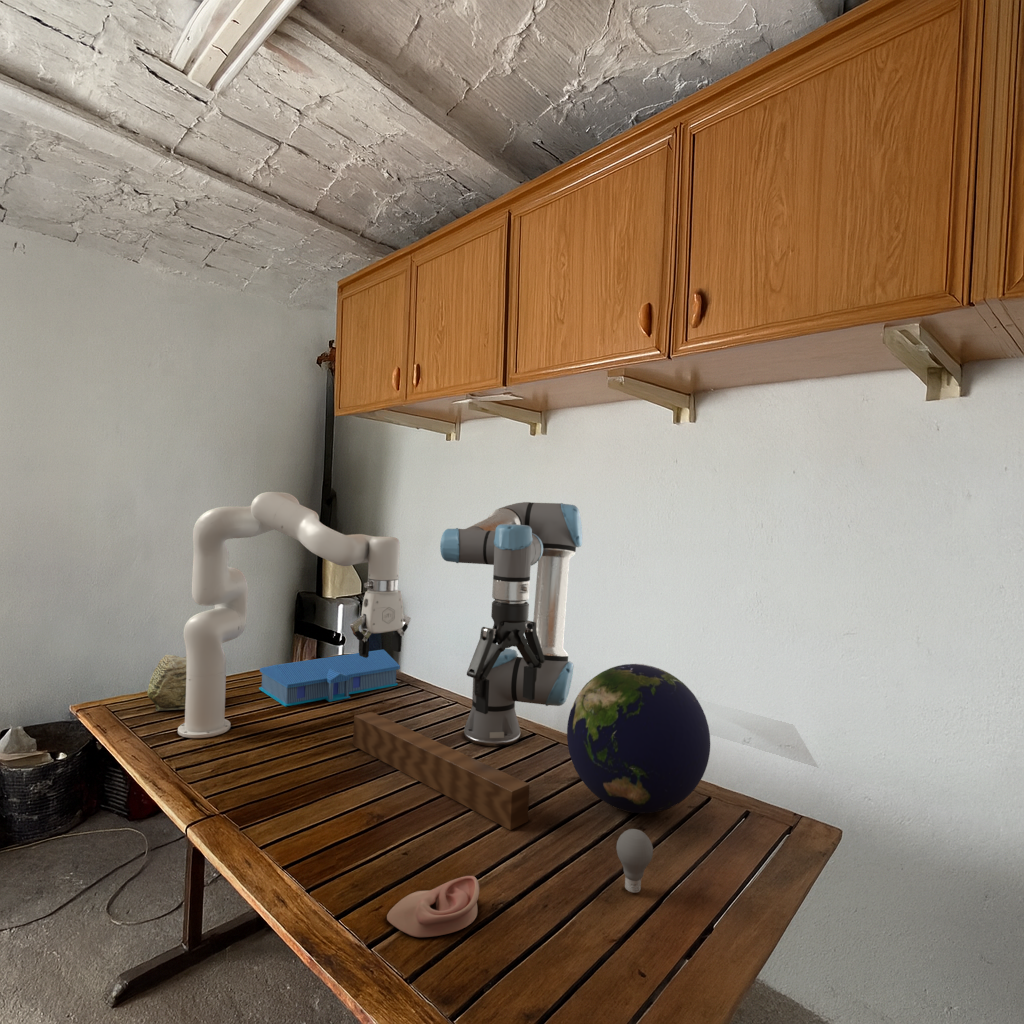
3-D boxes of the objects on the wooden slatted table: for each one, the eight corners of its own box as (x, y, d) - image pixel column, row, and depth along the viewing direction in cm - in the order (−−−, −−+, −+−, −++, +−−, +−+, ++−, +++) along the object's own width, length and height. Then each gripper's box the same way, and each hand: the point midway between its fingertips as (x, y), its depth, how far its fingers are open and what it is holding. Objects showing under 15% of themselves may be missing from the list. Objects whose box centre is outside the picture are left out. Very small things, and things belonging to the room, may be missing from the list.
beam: (352, 745, 162) (354, 715, 162) (369, 740, 166) (371, 711, 165) (510, 830, 123) (512, 791, 123) (527, 821, 127) (529, 783, 127)
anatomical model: (379, 903, 93) (407, 860, 104) (378, 930, 93) (406, 884, 105) (466, 919, 91) (485, 873, 102) (464, 947, 91) (484, 898, 102)
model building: (289, 709, 186) (291, 675, 185) (258, 688, 204) (259, 657, 204) (403, 687, 212) (405, 657, 212) (366, 670, 230) (368, 643, 230)
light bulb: (610, 879, 108) (613, 822, 108) (644, 879, 109) (647, 822, 109) (619, 902, 102) (622, 840, 102) (655, 901, 103) (658, 840, 103)
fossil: (144, 707, 182) (145, 655, 182) (212, 696, 194) (213, 647, 194) (151, 716, 175) (153, 662, 175) (221, 703, 188) (223, 653, 188)
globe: (544, 820, 127) (551, 672, 127) (585, 765, 155) (590, 643, 155) (698, 858, 116) (706, 696, 116) (712, 791, 144) (719, 660, 143)
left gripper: (361, 590, 150) (358, 662, 150) (419, 585, 163) (417, 651, 163) (344, 586, 155) (341, 655, 156) (402, 581, 168) (399, 646, 168)
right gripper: (478, 609, 117) (473, 723, 117) (563, 598, 135) (559, 697, 135) (451, 603, 122) (446, 712, 122) (537, 593, 140) (533, 689, 140)
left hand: (380, 653), depth 159 cm, fingers open, 9 cm apart
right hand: (505, 705), depth 129 cm, fingers open, 13 cm apart
